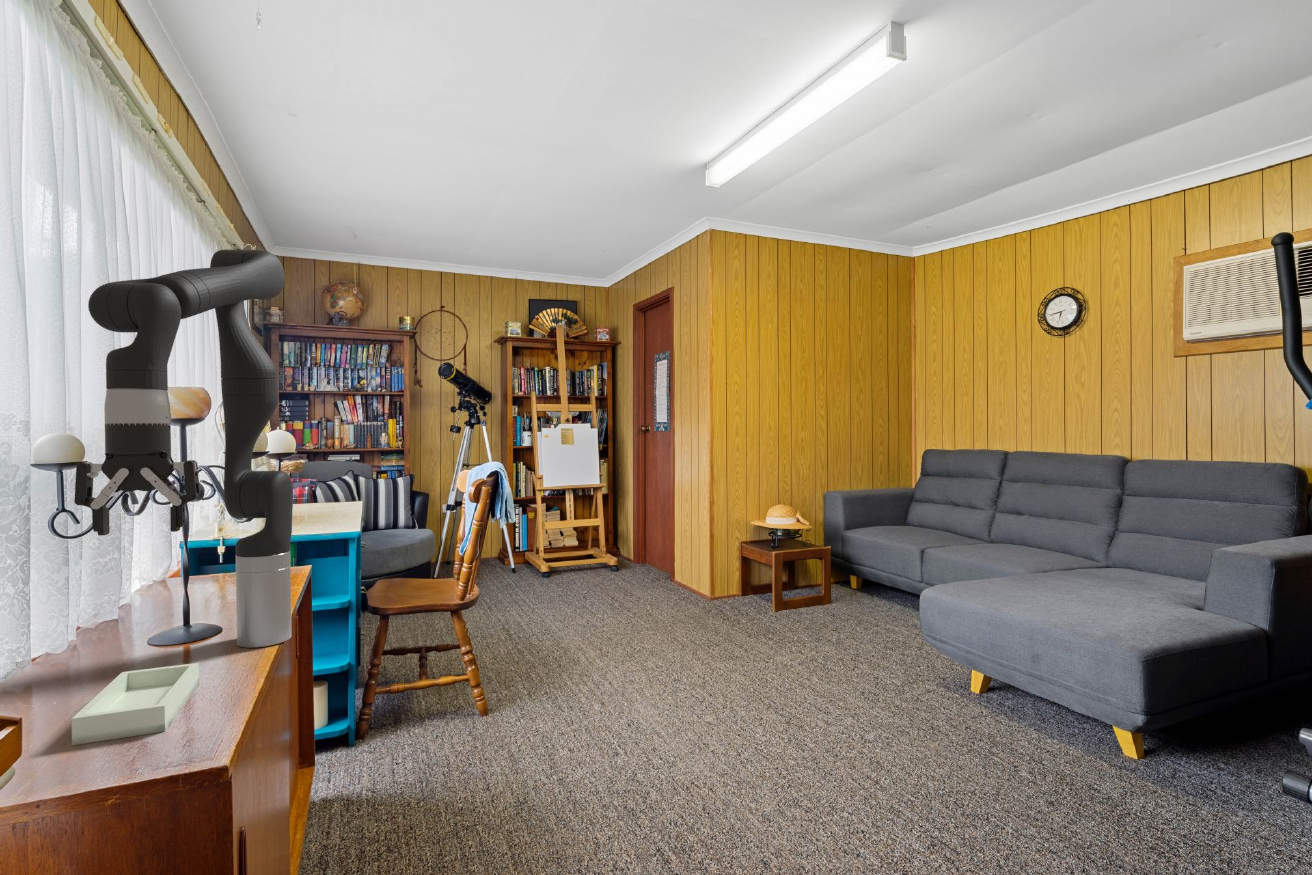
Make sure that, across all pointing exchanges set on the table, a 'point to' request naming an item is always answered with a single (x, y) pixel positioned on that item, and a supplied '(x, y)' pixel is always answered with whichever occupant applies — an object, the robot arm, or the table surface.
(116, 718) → the tray
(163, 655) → the table surface
